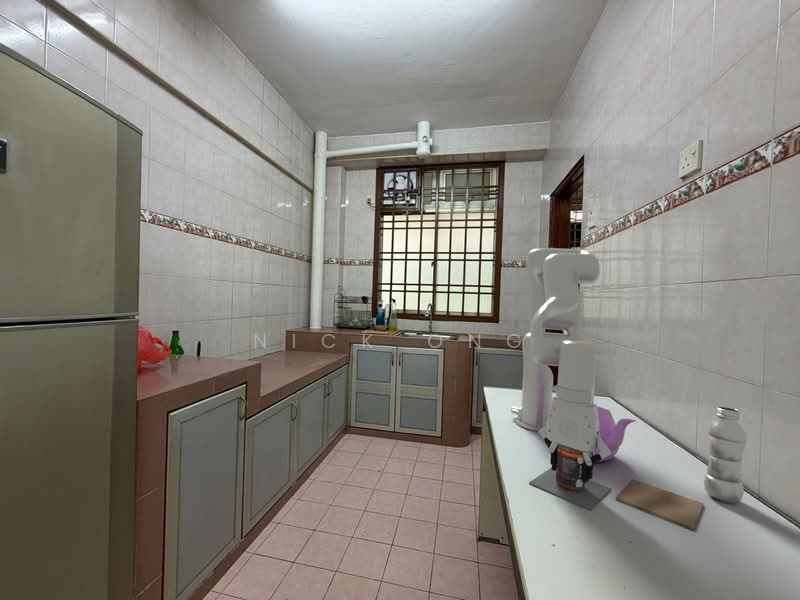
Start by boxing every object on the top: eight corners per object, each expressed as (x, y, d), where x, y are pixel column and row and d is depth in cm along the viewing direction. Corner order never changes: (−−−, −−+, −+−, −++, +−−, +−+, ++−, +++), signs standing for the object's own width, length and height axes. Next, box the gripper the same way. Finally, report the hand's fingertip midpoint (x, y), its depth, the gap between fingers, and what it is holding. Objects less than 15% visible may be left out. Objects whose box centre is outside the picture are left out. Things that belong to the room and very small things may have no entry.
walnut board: (615, 499, 76) (615, 497, 76) (632, 480, 85) (632, 478, 85) (693, 530, 66) (693, 528, 66) (703, 505, 75) (703, 503, 75)
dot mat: (528, 483, 81) (529, 482, 81) (553, 467, 90) (553, 466, 90) (590, 510, 71) (590, 509, 71) (611, 489, 80) (611, 488, 80)
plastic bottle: (695, 490, 82) (700, 404, 82) (722, 491, 82) (727, 405, 82) (723, 507, 75) (728, 413, 75) (752, 507, 76) (757, 414, 76)
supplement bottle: (588, 494, 77) (591, 442, 77) (559, 489, 78) (562, 438, 78) (580, 480, 83) (583, 432, 83) (552, 476, 84) (555, 429, 84)
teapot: (524, 446, 102) (527, 394, 102) (575, 438, 111) (578, 390, 111) (598, 486, 81) (602, 420, 81) (653, 472, 90) (657, 413, 90)
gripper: (530, 388, 84) (526, 464, 84) (612, 408, 71) (607, 497, 72) (545, 384, 89) (540, 456, 89) (623, 402, 77) (618, 485, 77)
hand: (570, 473), depth 80 cm, fingers closed on supplement bottle, 6 cm apart
